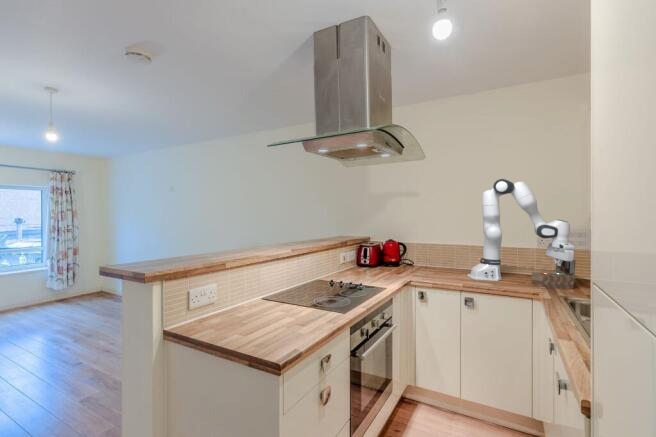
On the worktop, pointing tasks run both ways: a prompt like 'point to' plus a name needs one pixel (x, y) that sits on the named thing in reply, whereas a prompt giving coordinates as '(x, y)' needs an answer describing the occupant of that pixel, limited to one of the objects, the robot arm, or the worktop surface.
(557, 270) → the coffee box
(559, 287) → the socket block
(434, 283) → the worktop surface
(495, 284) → the worktop surface
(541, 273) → the peg
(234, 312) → the worktop surface
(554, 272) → the peg
